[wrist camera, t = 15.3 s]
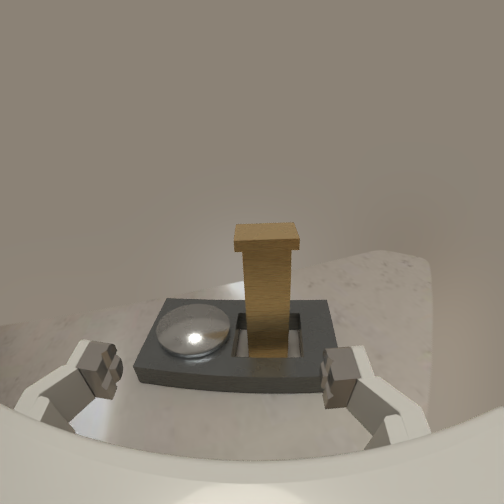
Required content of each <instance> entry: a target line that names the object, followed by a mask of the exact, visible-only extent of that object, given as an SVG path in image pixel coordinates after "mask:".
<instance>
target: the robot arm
mask: <svg viewBox="0 0 504 504" xmlns="http://www.w3.org/2000/svg"><path fill="white" fill-rule="evenodd" d="M116 352H117V349H116V347H115V345H114V344H110V343H103V342H97V341H90V340H84V339H82V340H81V341H79V343H78V345H77V346H76V348H75V350H74V351H73V353H72V355H71V357H70V358H69V360H68V362H67V364H66V365H65V366H64V365H62V366H61V367H59V368H57V369H56V370H54V371H53V372H51V373H50V374H48V375H46V376H45V377H43V378H42V379H40V380H39V381H37V382H35V383H34V384H32V385H31V386H29V387H28V388H26V389H25V390H24V392H23V394H22V395H21V397H20V399H19V401H18V403H17V404H16V406H15V408H14V410H13V409H11V408H9V407H7V406H4V405H2V404H0V504H504V407H502V406H501V407H497V408H495V409H492V410H490V411H488V412H486V413H484V414H481V415H479V416H477V417H474V418H472V419H469V420H467V421H464V422H462V423H460V424H457V425H454V426H451V427H448V428H445V429H443V430H440V431H437V432H434V433H431V430H430V428H429V425H428V423H427V420H426V417H425V415H424V412H423V410H422V408H421V407H420V406H419V405H417V404H416V403H415V402H413V401H412V400H411V399H409V398H408V397H406V396H405V395H404V394H402V393H401V392H400V391H398V390H397V389H396V388H394V387H393V386H392V385H390V384H389V383H388V382H386V381H385V380H383V379H382V378H381V377H379V376H375V374H374V371H373V369H372V366H371V363H370V361H369V358H368V356H367V353H366V351H365V348H364V346H362V345H361V346H351V347H339V348H328V349H324V351H323V355H322V357H323V362H322V363H321V364H320V369H319V379H320V385H321V387H322V388H323V389H324V391H323V395H322V396H323V401H324V406H325V409H333V408H344V407H347V410H348V411H349V412H350V413H351V414H352V415H353V416H354V417H355V418H356V419H357V420H358V421H359V422H360V423H361V424H362V425H363V426H364V427H365V428H366V429H367V430H368V431H369V432H370V434H371V435H372V436H373V437H372V438H371V440H370V441H369V443H368V444H367V446H366V447H365V448H364V450H363V451H357V452H351V453H345V454H339V455H331V456H323V457H314V458H303V459H289V460H261V461H245V460H217V459H203V458H192V457H183V456H175V455H167V454H160V453H154V452H148V451H143V450H138V449H133V448H128V447H123V446H119V445H114V444H110V443H106V442H102V441H99V440H95V439H91V438H88V437H84V436H81V435H78V434H75V430H74V429H73V428H72V427H71V426H70V424H69V423H68V422H70V421H71V420H72V419H73V418H74V417H75V416H76V415H77V414H78V413H79V412H81V411H82V410H83V409H84V408H85V407H86V406H87V405H88V404H89V403H90V402H91V401H93V400H94V399H95V397H99V398H104V399H110V400H113V397H114V395H115V392H116V390H117V386H116V382H118V381H119V380H120V379H121V377H122V373H123V364H122V361H121V358H120V357H118V356H117V355H116Z"/></svg>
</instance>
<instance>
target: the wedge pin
mask: <svg viewBox="0 0 504 504" xmlns="http://www.w3.org/2000/svg"><path fill="white" fill-rule="evenodd" d="M299 244H300V238H299V235H298V233H297V230H296V227H295V224H294V223H263V224H237V225H236V228H235V235H234V251H235V252H242V256H243V272H244V288H245V304H246V319H247V334H248V349H249V357H255V358H287V353H288V334H289V313H290V286H291V250H299Z"/></svg>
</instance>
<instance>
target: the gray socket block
mask: <svg viewBox="0 0 504 504" xmlns="http://www.w3.org/2000/svg"><path fill="white" fill-rule="evenodd" d="M240 329H247V319H246V304H245V300H201V299H173V298H167V299H166V301H165V303H164V305H163V307H162V309H161V311H160V313H159V315H158V317H157V319H156V321H155V322H154V324H153V326H152V328H151V330H150V332H149V334H148V336H147V338H146V341H145V343H144V345H143V347H142V349H141V351H140V353H139V355H138V357H137V359H136V361H135V363H134V365H133V368H134V370H135V372H136V374H137V376H138V379H139V381H140V382H143V383H149V384H156V385H163V386H171V387H179V388H188V389H198V390H210V391H224V392H243V393H312V392H323V391H324V389H323V388H322V387H321V385H320V379H319V369H320V364H321V363H322V362H323V357H322V355H323V351H324V349H328V348H338V346H337V342H336V337H335V333H334V328H333V324H332V320H331V315H330V311H329V307H328V303H327V300H290V313H289V330H291V329H299V341H300V353H301V357H299V358H255V357H236V350H237V344H238V337H239V331H240Z"/></svg>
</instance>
